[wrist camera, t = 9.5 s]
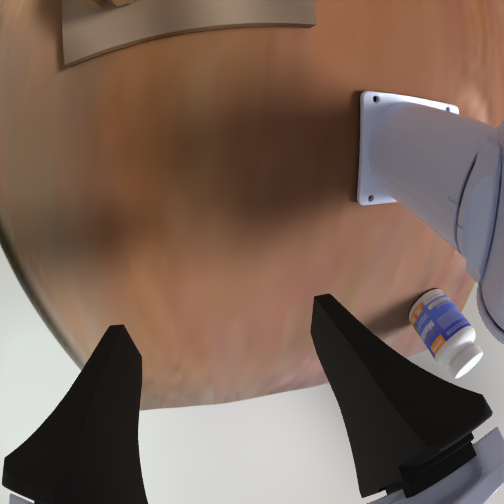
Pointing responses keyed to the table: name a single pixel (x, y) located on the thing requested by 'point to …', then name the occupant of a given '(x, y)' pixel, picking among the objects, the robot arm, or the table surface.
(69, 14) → the gear board
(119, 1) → the gear
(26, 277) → the table surface
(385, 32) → the table surface
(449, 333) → the pill bottle
